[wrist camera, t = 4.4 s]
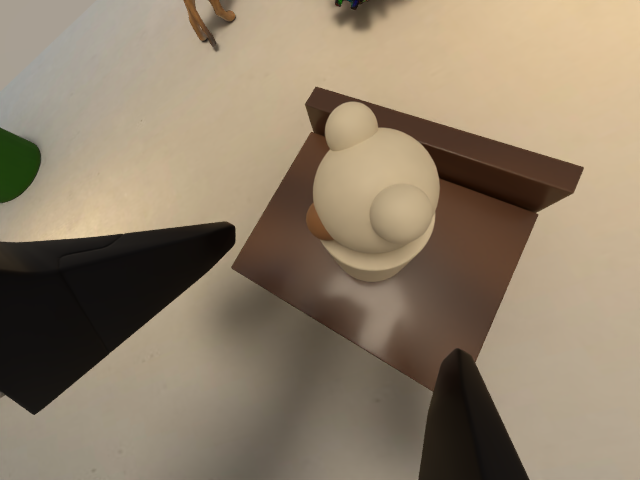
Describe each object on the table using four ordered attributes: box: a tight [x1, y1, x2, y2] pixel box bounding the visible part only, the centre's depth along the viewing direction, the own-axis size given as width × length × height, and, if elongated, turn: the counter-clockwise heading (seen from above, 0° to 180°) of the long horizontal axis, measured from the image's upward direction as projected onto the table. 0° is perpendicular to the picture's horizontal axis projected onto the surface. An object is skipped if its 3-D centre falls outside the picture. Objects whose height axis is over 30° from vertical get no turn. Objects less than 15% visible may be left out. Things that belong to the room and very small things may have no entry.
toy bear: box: [306, 102, 440, 282], centre depth 11 cm, size 5×5×10 cm
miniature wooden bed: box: [231, 87, 584, 391], centre depth 17 cm, size 14×16×6 cm
